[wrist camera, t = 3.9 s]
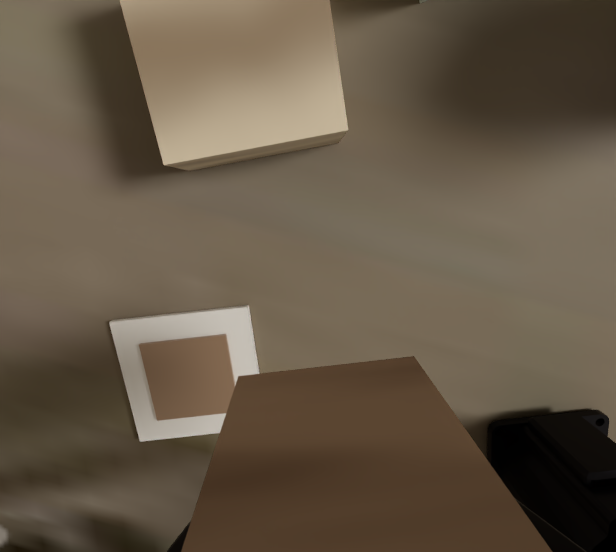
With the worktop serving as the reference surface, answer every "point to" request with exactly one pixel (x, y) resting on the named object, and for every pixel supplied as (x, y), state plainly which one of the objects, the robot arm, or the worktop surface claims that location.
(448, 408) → the walnut block
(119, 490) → the worktop surface
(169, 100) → the beech base
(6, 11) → the worktop surface
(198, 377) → the swatch
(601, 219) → the worktop surface
